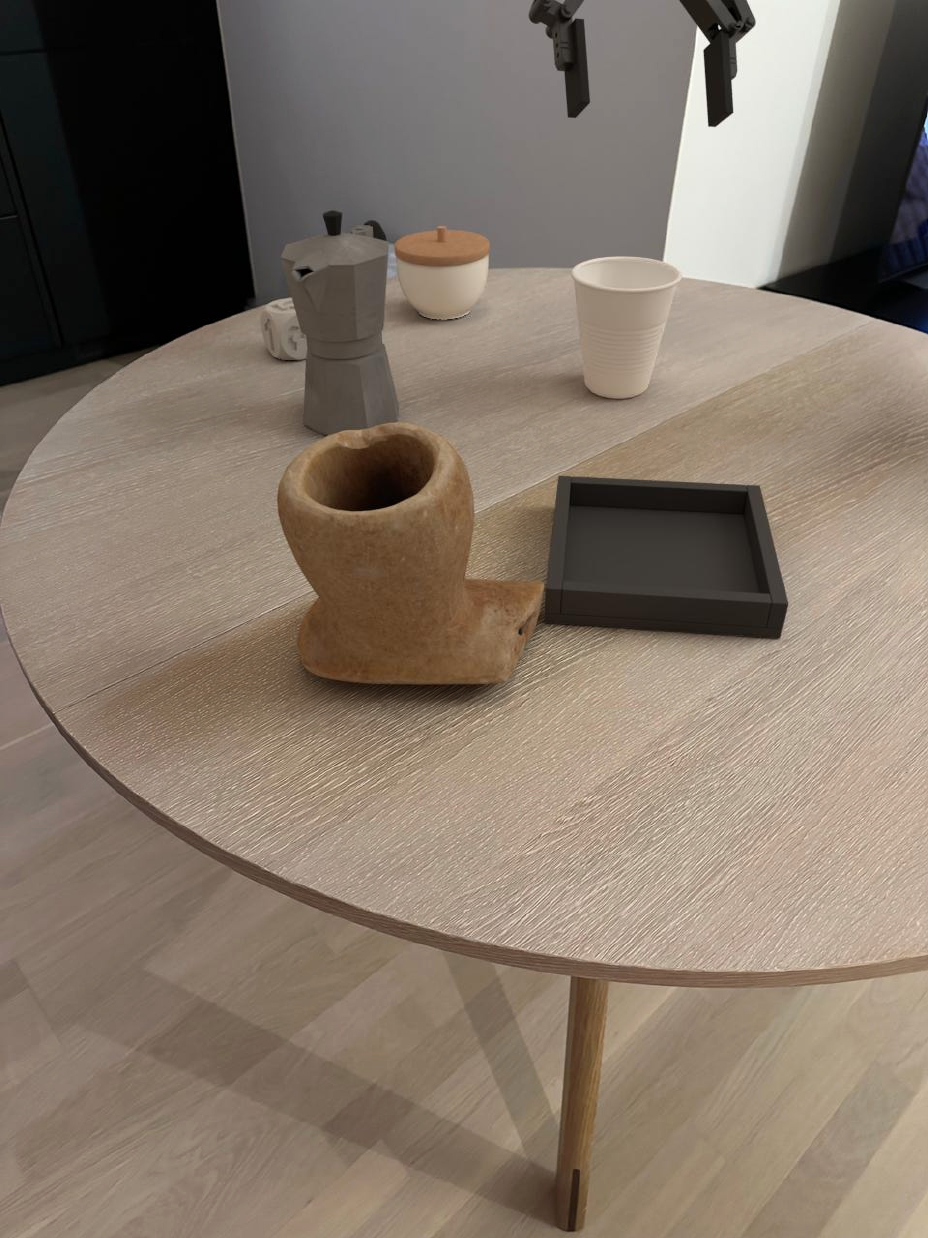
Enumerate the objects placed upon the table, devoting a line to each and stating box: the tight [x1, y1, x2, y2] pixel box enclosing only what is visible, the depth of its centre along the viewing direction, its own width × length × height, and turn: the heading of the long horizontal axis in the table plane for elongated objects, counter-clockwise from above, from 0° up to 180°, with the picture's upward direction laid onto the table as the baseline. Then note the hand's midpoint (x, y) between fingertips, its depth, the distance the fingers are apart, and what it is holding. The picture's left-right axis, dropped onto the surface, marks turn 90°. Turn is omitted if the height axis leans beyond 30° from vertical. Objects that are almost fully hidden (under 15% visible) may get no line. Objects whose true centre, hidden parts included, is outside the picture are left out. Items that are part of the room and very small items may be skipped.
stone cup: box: [276, 422, 546, 685], centre depth 53 cm, size 15×12×15 cm
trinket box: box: [393, 225, 491, 321], centre depth 106 cm, size 11×11×9 cm
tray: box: [543, 475, 789, 640], centre depth 65 cm, size 15×15×3 cm
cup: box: [570, 256, 683, 400], centre depth 87 cm, size 10×10×11 cm
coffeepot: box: [280, 209, 400, 436], centre depth 82 cm, size 15×9×18 cm, turn 159°
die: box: [260, 297, 307, 361], centre depth 98 cm, size 5×5×5 cm
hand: (651, 115), depth 79 cm, fingers open, 13 cm apart
